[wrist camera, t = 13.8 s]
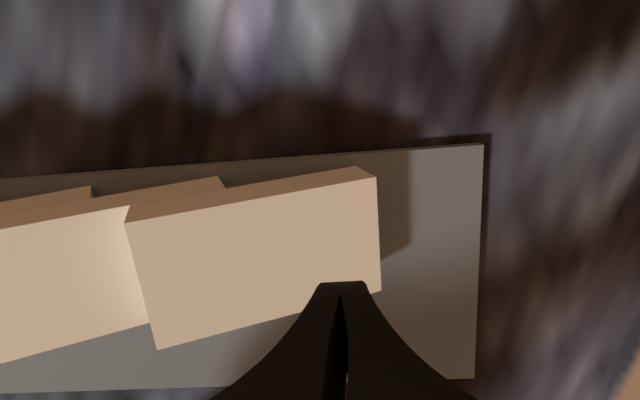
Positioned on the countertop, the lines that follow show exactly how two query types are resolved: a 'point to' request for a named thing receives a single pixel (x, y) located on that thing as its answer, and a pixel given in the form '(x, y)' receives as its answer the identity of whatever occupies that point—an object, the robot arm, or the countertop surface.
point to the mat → (258, 340)
